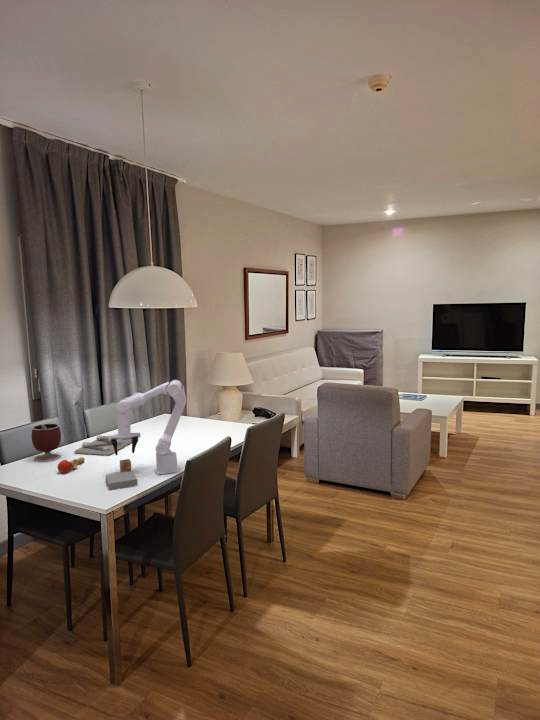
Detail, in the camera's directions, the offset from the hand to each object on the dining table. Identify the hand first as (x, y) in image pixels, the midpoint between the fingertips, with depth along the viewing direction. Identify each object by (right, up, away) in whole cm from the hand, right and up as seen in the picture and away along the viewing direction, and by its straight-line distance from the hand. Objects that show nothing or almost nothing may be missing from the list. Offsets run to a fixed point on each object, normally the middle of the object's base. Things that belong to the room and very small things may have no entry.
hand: (124, 453), depth 236 cm
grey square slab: (+2, -11, -12) cm, 17 cm away
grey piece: (-23, -5, +44) cm, 50 cm away
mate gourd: (-47, -7, +24) cm, 53 cm away
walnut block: (0, -10, +1) cm, 10 cm away
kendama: (-29, -9, +9) cm, 31 cm away
